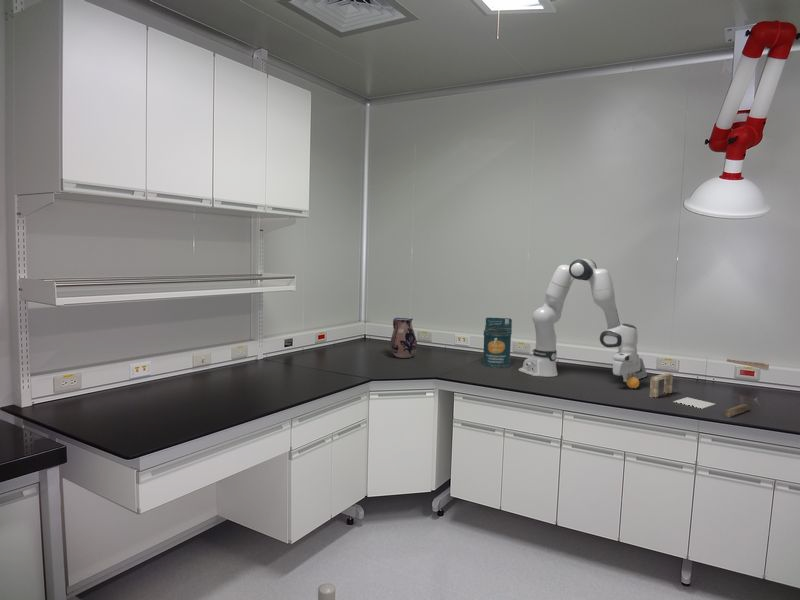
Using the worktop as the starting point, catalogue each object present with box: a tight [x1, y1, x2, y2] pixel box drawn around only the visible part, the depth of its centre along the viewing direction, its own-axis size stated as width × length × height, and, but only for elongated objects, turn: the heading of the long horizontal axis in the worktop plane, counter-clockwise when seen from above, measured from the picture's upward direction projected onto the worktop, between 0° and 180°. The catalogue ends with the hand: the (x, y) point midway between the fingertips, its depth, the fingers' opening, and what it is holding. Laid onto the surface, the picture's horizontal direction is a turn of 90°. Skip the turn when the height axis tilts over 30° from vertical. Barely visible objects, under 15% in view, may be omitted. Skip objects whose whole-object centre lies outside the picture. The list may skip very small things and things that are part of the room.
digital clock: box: [631, 357, 648, 381], centre depth 293 cm, size 16×9×11 cm, turn 122°
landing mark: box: [672, 396, 716, 410], centre depth 246 cm, size 13×13×1 cm
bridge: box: [649, 372, 674, 399], centre depth 259 cm, size 3×15×10 cm, turn 125°
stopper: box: [723, 403, 749, 418], centre depth 232 cm, size 2×18×2 cm, turn 125°
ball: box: [626, 377, 640, 389], centre depth 271 cm, size 6×6×6 cm
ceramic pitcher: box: [389, 317, 418, 359], centre depth 343 cm, size 18×21×25 cm
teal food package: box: [482, 317, 513, 369], centre depth 321 cm, size 16×16×28 cm
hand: (626, 381), depth 275 cm, fingers closed
